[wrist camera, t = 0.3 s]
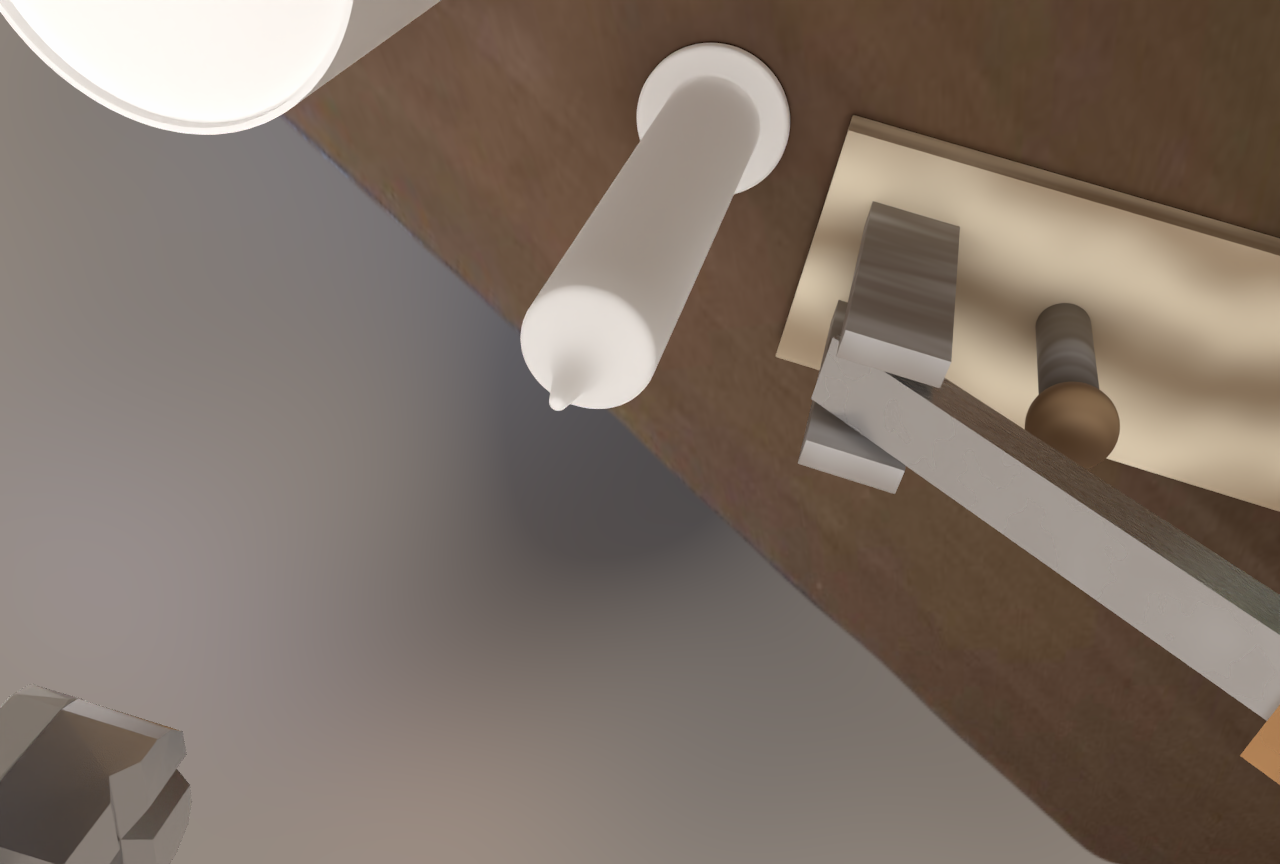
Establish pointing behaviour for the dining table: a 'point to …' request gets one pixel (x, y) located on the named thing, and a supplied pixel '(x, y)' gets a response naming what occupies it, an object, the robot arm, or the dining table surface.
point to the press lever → (1077, 531)
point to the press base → (1043, 313)
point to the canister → (204, 52)
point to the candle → (655, 225)
